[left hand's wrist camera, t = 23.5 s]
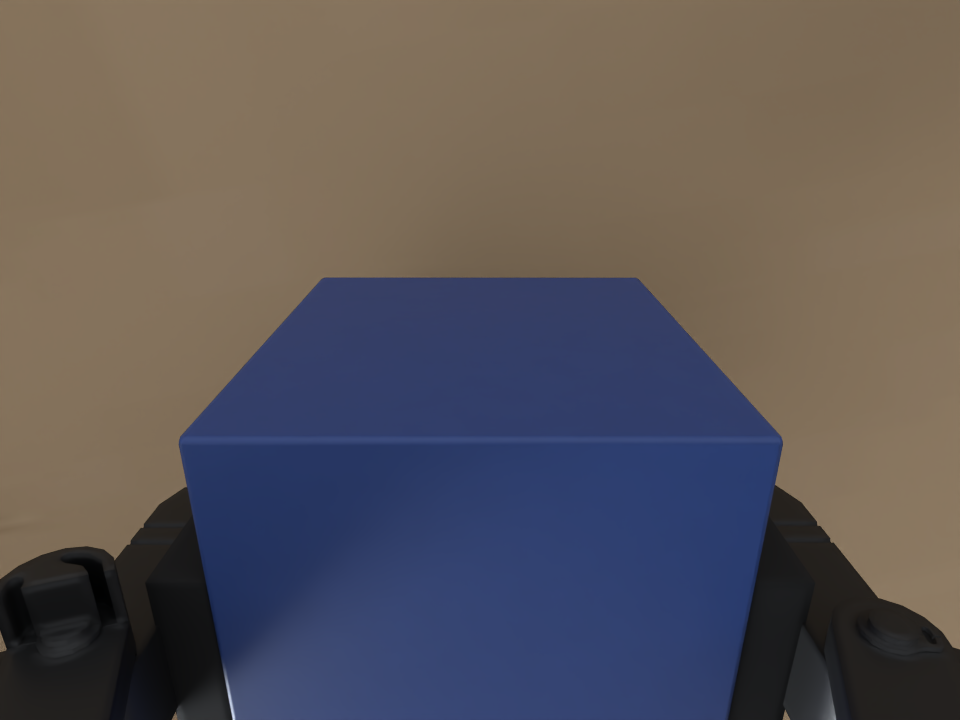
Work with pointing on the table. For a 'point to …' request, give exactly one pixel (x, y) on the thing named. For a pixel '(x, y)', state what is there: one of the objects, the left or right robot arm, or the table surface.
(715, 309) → the table surface
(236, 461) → the block
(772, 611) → the left robot arm
